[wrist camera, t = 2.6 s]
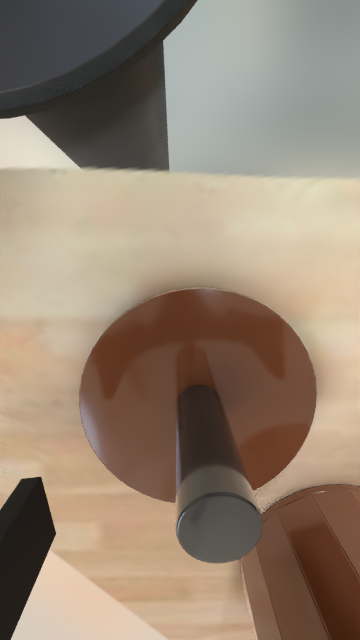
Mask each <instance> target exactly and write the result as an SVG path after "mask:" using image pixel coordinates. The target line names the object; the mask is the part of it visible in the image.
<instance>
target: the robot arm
mask: <svg viewBox="0 0 360 640" xmlns="http://www.w3.org/2000/svg"><path fill="white" fill-rule="evenodd" d="M55 535H56V532H55V528H54V524H53V520H52V516H51V513H50V509H49V505H48V501H47V497H46V494H45V490H44V486H43V482H42V478H41V477H35V478H27V479H21V481H20V482H19V484H18V485H17V487H16V488H15V489H14V491H13V492H12V494H11V495H10V497H9V498H8V500H7V501H6V502H5V504H4V505H3V507H2V508H1V510H0V640H11V637H12V635H13V633H14V630H15V628H16V626H17V623H18V621H19V619H20V616H21V614H22V612H23V609H24V607H25V605H26V602H27V600H28V597H29V595H30V593H31V591H32V588H33V586H34V584H35V582H36V579H37V577H38V575H39V572H40V570H41V568H42V565H43V563H44V561H45V558H46V556H47V553H48V551H49V549H50V547H51V544H52V542H53V540H54V537H55Z"/></svg>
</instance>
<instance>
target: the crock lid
mask: <svg viewBox="0 0 360 640" xmlns="http://www.w3.org/2000/svg"><path fill="white" fill-rule="evenodd" d="M316 394H317V392H316V380H315V375H314V370H313V366H312V363H311V360H310V358H309V355H308V353H307V350H306V348H305V347H304V345H303V343H302V342H301V340H300V338H299V337H298V335H297V334H296V333H295V332H294V330H293V329H292V328H291V327H290V325H289V324H287V323H286V322H285V321H284V320H283V319H282V318H281V317H280V316H279V315H278V314H276V313H275V312H274V311H272V310H271V309H269V308H268V307H266V306H265V305H263V304H261V303H259V302H257V301H255V300H253V299H251V298H250V297H247V296H244V295H241V294H239V293H236V292H232V291H228V290H223V289H218V288H206V287H196V288H183V289H178V290H172V291H168V292H165V293H162V294H159V295H156V296H153V297H151V298H149V299H146V300H144V301H142V302H140V303H138V304H137V305H135V306H134V307H132V308H131V309H129V310H128V311H126V312H125V313H124V314H122V315H121V316H120V317H119V318H118V319H117V320H116V321H114V322H113V323H112V324H111V326H110V327H109V328H108V329H107V330H106V331H105V332H104V334H103V335H102V336H101V337H100V339H99V340H98V342H97V343H96V345H95V346H94V348H93V349H92V351H91V354H90V356H89V358H88V360H87V362H86V365H85V368H84V372H83V375H82V379H81V386H80V413H81V420H82V424H83V427H84V430H85V434H86V436H87V438H88V440H89V443H90V445H91V447H92V448H93V450H94V452H95V453H96V455H97V456H98V458H99V459H100V460H101V462H102V463H103V464H104V465H105V466H106V468H107V469H108V470H109V471H110V472H112V473H113V474H114V475H115V476H116V477H117V478H118V479H120V480H121V481H122V482H124V483H125V484H127V485H128V486H129V487H131V488H133V489H135V490H137V491H139V492H141V493H143V494H145V495H148V496H150V497H153V498H156V499H159V500H163V501H167V502H172V503H176V534H177V538H178V540H179V543H180V544H181V546H182V548H183V549H184V550H185V551H186V552H187V553H188V554H189V555H191V556H192V557H194V558H196V559H198V560H200V561H204V562H208V563H226V562H231V561H234V560H237V559H239V558H241V557H243V556H245V555H246V554H248V553H249V552H250V551H251V550H252V549H253V548H254V547H255V546H256V544H257V543H258V541H259V539H260V537H261V533H262V517H261V514H260V511H259V508H258V505H257V502H256V499H255V496H254V493H253V491H254V490H255V489H257V488H259V487H261V486H263V485H264V484H266V483H267V482H268V481H270V480H271V479H273V478H274V477H275V476H276V475H278V474H279V473H280V472H281V471H282V470H283V469H284V468H285V467H286V466H287V465H288V464H289V463H290V462H291V460H292V459H293V458H294V457H295V455H296V454H297V452H298V451H299V450H300V448H301V447H302V445H303V443H304V441H305V439H306V437H307V435H308V433H309V430H310V427H311V424H312V422H313V417H314V413H315V408H316Z"/></svg>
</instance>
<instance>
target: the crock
mask: <svg viewBox="0 0 360 640" xmlns="http://www.w3.org/2000/svg"><path fill="white" fill-rule="evenodd" d="M261 517H262V533H261V537H260V539H259V541H258V543H257V544H256V546H255V547H254V548H253V549H252V550H251V551H250V552H249V553H248V554H246V555H245V556H243V557H241V558H240V568H241V574H242V580H243V589H244V594H245V599H246V604H247V608H248V613H249V618H250V623H251V627H252V632H253V637H254V640H360V487H358V486H352V485H324V486H318V487H313V488H309V489H306V490H302V491H300V492H297V493H295V494H292V495H290V496H288V497H286V498H284V499H282V500H281V501H279V502H278V503H276V504H275V505H273V506H272V507H270V508H269V509H268V510H267V511H266V512H265V513H264V514H262V515H261Z"/></svg>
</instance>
